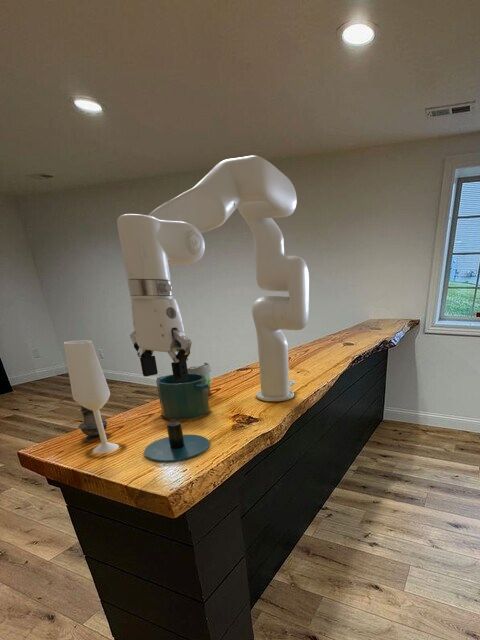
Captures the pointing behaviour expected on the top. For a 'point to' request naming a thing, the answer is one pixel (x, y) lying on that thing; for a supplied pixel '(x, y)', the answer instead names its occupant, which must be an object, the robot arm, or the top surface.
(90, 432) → the grey lumpy figure
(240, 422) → the top surface
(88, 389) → the champagne flute
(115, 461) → the top surface
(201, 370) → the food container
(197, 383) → the pot
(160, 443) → the lid
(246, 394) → the top surface
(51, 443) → the top surface
